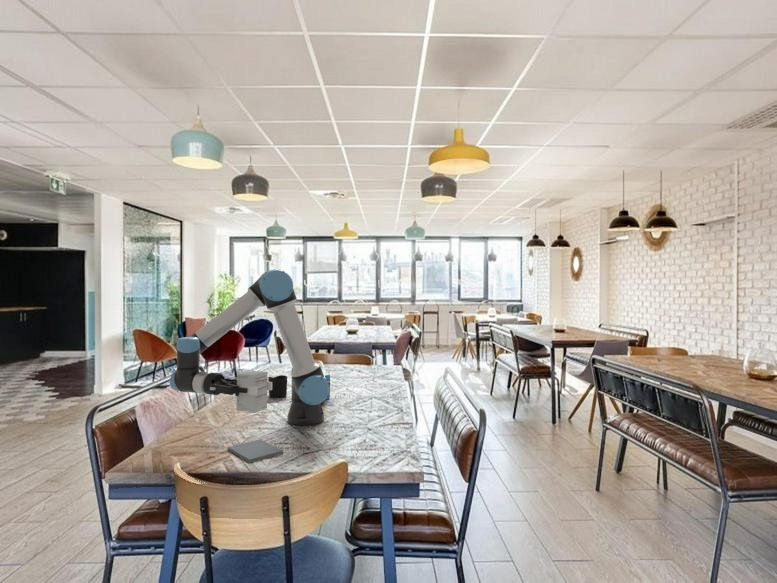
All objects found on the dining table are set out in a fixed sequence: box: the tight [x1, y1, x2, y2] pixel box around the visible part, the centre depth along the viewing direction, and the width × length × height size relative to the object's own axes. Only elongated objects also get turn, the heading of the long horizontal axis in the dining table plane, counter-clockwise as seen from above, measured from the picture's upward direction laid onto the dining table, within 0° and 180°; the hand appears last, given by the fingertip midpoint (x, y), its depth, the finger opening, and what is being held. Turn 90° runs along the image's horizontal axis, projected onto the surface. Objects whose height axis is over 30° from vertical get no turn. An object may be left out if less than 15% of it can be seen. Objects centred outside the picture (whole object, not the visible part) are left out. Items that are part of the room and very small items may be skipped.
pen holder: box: [267, 374, 288, 399], centre depth 237 cm, size 9×9×10 cm
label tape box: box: [324, 374, 331, 401], centre depth 230 cm, size 9×4×12 cm, turn 141°
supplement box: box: [236, 369, 268, 414], centre depth 157 cm, size 7×7×13 cm
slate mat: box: [227, 438, 284, 463], centre depth 157 cm, size 16×12×1 cm
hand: (264, 388), depth 155 cm, fingers closed on supplement box, 7 cm apart
